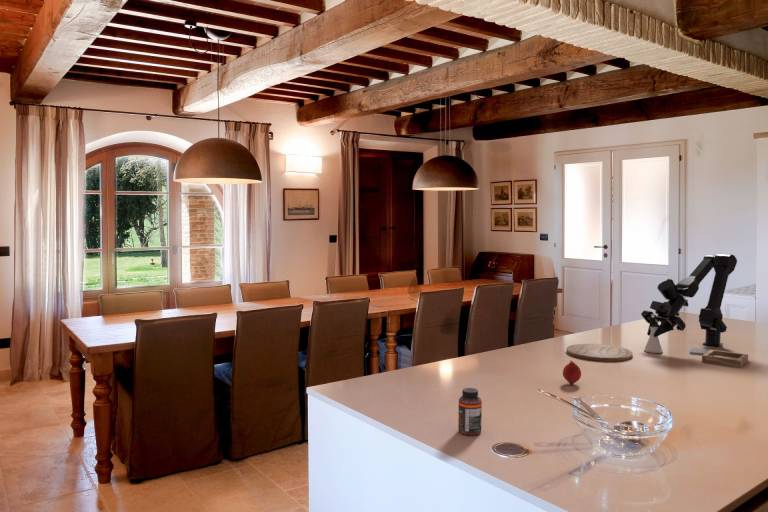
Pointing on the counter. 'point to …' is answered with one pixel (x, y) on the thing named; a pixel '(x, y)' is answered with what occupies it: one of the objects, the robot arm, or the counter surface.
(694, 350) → the slate coaster
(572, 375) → the onion
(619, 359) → the trivet
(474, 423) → the supplement bottle
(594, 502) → the counter surface
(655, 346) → the flask
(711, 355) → the tray
